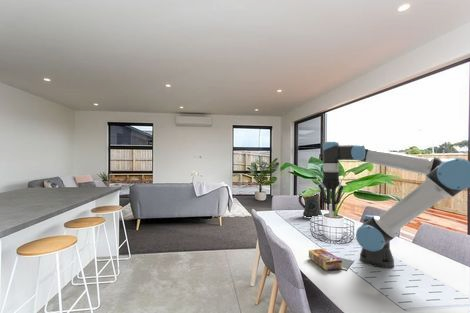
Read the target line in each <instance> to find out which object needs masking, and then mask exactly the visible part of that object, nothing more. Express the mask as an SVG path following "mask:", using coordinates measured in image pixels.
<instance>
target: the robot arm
mask: <svg viewBox="0 0 470 313" xmlns="http://www.w3.org/2000/svg"><path fill="white" fill-rule="evenodd" d="M322 157H323V158H322V160H323V161H322V162H323V163H322V168H323V169H322V170H323V173H322V174H323V175H322V176H323V178H322V182H321V183H320V184H319V183H318V184H317V186H318V188H319V190H320V193H321V197H322V202H323V204H324V203H325V204H326V209H327V210H326V211H328V217H329V218H334V212H335V211H336V205H339V204H340V202H341V197H342V193H343V190H344V188H346V187H345V185H343V184H341V182H340V175H339V174H340V172H339V171H340V170H339V169H340V166H339V163H340V162H339V161H358V162H364V163H368V164H372V165H373V164H374V165H379V166H383V167H387V168H392V169H397V170H402V171H406V172H409V173H410V172H411V173H415V174H420V175H425V181H424V182H422V183H421V184H420V185H419V186H417V187H416V188H415V189H413V190H412V191H411V192H409V193H408V194H407V195H406V196H404V197H403V198H402V199H401V200H399V201H397V202H396V203H395V204H394V205H392V206H391V207H390V208H389V209H388V210H386V211H385V212H384V213H382V214H381V215H368V214H365V215H363V217H362V221H363V222H362V225H360V226H359V227H358V228H357V229H356V233H355V239H356V242H357V243H358V245H360V247H361V250H360V252H359V253H360V254H359V260H360V261H361V262H363V263H364V264H367V265H369V266H373V267H378V268H391V267H392V268H393V267H394V265H395V260H394V256H393V253H392V251H391V248H390V247H391V244H390V241H392V240H393V239H394V238H396V234H397V233H396V232H397V231H399V230H400V229H402V228H403V227H405V226H406V225H407V224H409V223H410V222H412V221H413V220H415V219H416V218H417V217H419V216H420V215H422V214H423V213H425V212H426V211H427V210H429V209H430V208H432V207H433V206H434V205H436V204H437V203H438V202H440V201H441V200H443V199H444V198H453V197H455V196H456V195H458V194H459V193H461V192H463V191H464V190H467V189H469V188H470V161H469V160H467V159H464V158H460V157H459V158H458V157H452V158H440V157H435V156H434V157H431V158H427V157H421V156H416V155H411V154H410V155H409V154H403V153H398V152H393V151H387V150H381V149H377V148H370V147H365V145H363V144H358V143H357V144H346V145H344V144H343V145H341V144H339V142H338V141H325V142H324V143H323V145H322ZM325 189H326V192H325ZM337 189H338V191H337ZM336 191H337V195H336Z"/></svg>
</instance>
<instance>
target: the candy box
mask: <svg viewBox="0 0 470 313" xmlns="http://www.w3.org/2000/svg"><path fill="white" fill-rule="evenodd" d="M336 256H337V255H334V254H333V253H331V252H329V251H327V250H325V249H324V248H317V249H309V250H308V258H309V259H310V260H312V261H313V262H314V263H315V264H317V265H318V266H320V267H321V268H322V269H324V270H325V271H329V270H337V269H338V270H340V269H339V268H342V260H341V259H339V258H338V257H339V256H338V257H336Z"/></svg>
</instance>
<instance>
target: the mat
mask: <svg viewBox="0 0 470 313" xmlns="http://www.w3.org/2000/svg"><path fill="white" fill-rule="evenodd" d="M335 256H336V257H338V258H339V259H341V260H342V268H339V269H338V270H342V271H346V272H347V271H348V270H349V268H350V267H351V266H352V265H353V263H354V262H355V259H351V258H346V257H342V256H337V255H335Z"/></svg>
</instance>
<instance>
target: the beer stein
mask: <svg viewBox="0 0 470 313" xmlns="http://www.w3.org/2000/svg"><path fill="white" fill-rule="evenodd" d="M319 197H320V194H319V193H318V194H316V195H314V196H311V197H305V203H303V202H302V198H303V197H302V196H300V195H299V196H298V203H299V205H300V206H301V207H303V209H304V210H303V213H302V216H303V217H304V216H306V217H312V216H318V215H322V216H323V212H322V211H321V207H320V200H319Z"/></svg>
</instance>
